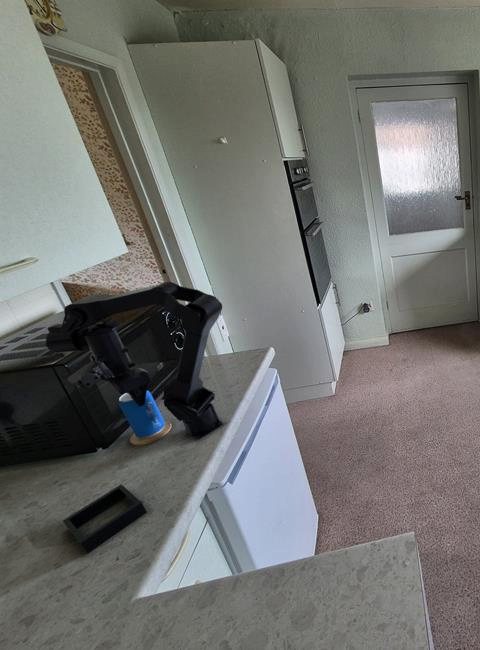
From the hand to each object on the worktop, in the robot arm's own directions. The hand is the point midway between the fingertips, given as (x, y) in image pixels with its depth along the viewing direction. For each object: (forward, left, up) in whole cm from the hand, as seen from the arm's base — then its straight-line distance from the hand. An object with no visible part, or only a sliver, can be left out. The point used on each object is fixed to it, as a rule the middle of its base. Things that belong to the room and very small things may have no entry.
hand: (134, 400), depth 97 cm
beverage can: (0, 0, -10) cm, 10 cm away
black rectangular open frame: (+17, +23, -11) cm, 31 cm away
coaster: (0, 0, -11) cm, 11 cm away
